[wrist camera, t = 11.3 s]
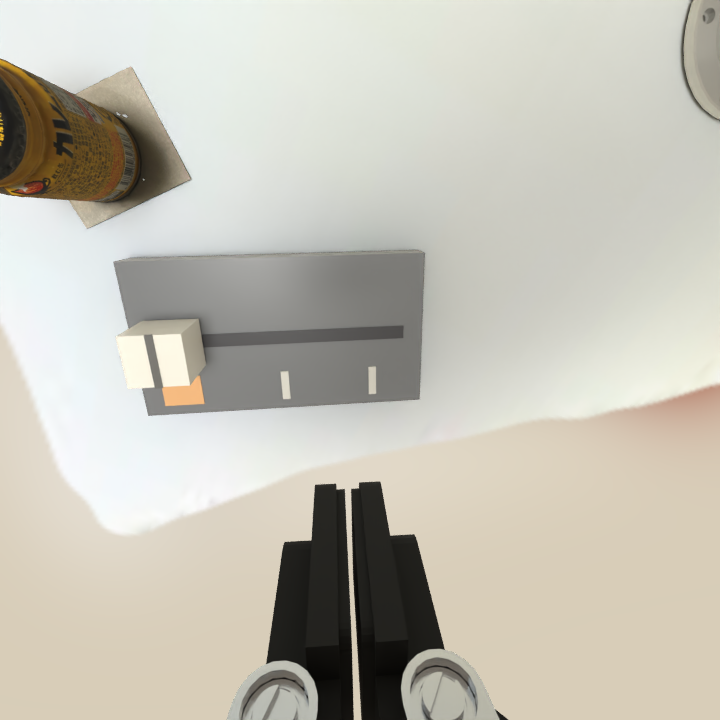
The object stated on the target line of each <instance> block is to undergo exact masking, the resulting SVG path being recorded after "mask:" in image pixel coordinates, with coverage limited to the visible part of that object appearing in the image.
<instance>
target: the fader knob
mask: <svg viewBox="0 0 720 720" xmlns="http://www.w3.org/2000/svg"><path fill="white" fill-rule="evenodd" d="M116 341H117V346H118V350H119V354H120V358H121V362H122V366H123V370H124V375H125V379H126V383H127V387H128V389H135V388H153V387H155V389H158V388H163V387H171V386H190V385H191V384H192V382H193V381H194V380H195V378H196V377H197V376H198V375H199V373H200V372H201V371H202V369H203V368H204V367H205V365H206V361H205V355H204V349H203V343H202V336H201V330H200V324H199V319H178V320H153V321H141V322H139V323H138V324H136V325H134V326H133V327H131V328H129V329H128V330H126V331H124V332H123V333H121V334H119V335H118V336H116Z"/></svg>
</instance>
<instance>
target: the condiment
mask: <svg viewBox="0 0 720 720" xmlns="http://www.w3.org/2000/svg"><path fill="white" fill-rule="evenodd" d="M116 112H118V113H120V116H118V115H117V114H116ZM122 114H126V115H127V116H128V118H125V117H123V116H122ZM142 179H145V181H143V180H142ZM188 180H190V177H189V175H188V173H187V171H186V169H185V167H184V165H183V163H182V161H181V159H180V157H179V155H178V153H177V151H176V149H175V148H174V146H173V144H172V142H171V140H170V138H169V136H168V134H167V132H166V130H165V129H164V127H163V125H162V123H161V121H160V119H159V117H158V115H157V113H156V112H155V110H154V108H153V106H152V105H151V103H150V101H149V99H148V97H147V95H146V93H145V91H144V89H143V87H142V86H141V84H140V82H139V80H138V78H137V77H136V75H135V73H134V71H133V69H132V67H129V68H127V69H125V70H122V71H120V72H118V73H116V74H115V75H113V76H111V77H109V78H106V79H104V80H102V81H100V82H99V83H97V84H95V85H92V86H90V87H88V88H87V89H85V90H82V91H81V92H79V93H77V94H73V93H70V92H68V91H66V90H64V89H62V88H60V87H58V86H57V85H55V84H52V83H50V82H48V81H46V80H44V79H42V78H40V77H38V76H36V75H34V74H32V73H30V72H28V71H26V70H24V69H21V68H19V67H17V66H15V65H13V64H11V63H9V62H8V61H6V60H3V59H0V193H1V194H6V195H12V196H19V197H35V198H48V199H61V200H69V201H70V203H71V204H72V206H73V208H74V210H75V211H76V212H77V214H78V216H79V217H80V219H81V220H82V222H83V223H84V225H85V226H86V228H87V229H88V228H90V227H92V226H94V225H96V224H98V223H100V222H103V221H105V220H107V219H109V218H111V217H113V216H115V215H117V214H120V213H122V212H124V211H126V210H128V209H130V208H132V207H134V206H136V205H138V204H141V203H142V202H144V201H146V200H148V199H150V198H153V197H155V196H157V195H159V194H161V193H163V192H166V191H168V190H170V189H172V188H173V187H175V186H177V185H179V184H182V183H184V182H186V181H188Z"/></svg>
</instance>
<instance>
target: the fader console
mask: <svg viewBox="0 0 720 720" xmlns="http://www.w3.org/2000/svg"><path fill="white" fill-rule="evenodd" d="M424 258H425V253H424V252H421V251H418V250H397V251H362V252H327V253H291V254H256V255H221V256H185V257H150V258H128V259H123V260H119V261H114V267H115V271H116V276H117V280H118V284H119V289H120V293H121V297H122V302H123V306H124V311H125V315H126V319H127V324H128V328H131V327H133V326H134V325H136V324H138V323H139V322H141V321H153V320H178V319H199V324H200V330H201V336H202V343H203V349H204V355H205V361H206V365H205V367H204V368H203V369H202V371H201V372H200V373H199V375H198V376H197V377H196V378H195V380H194V381H193V382H192V384H191V385H190V386H171V387H163V388H158V389H155V387H153V388H142V390H143V394H144V398H145V403H146V407H147V412H148V416H152V415H169V414H185V413H202V412H219V411H235V410H252V409H268V408H285V407H302V406H318V405H335V404H351V403H368V402H384V401H401V400H418V399H419V397H420V369H421V342H422V314H423V286H424Z"/></svg>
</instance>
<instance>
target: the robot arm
mask: <svg viewBox="0 0 720 720" xmlns="http://www.w3.org/2000/svg"><path fill="white" fill-rule="evenodd" d="M684 66H685V71H686V75H687V80H688V84H689V86H690V88H691V90H692V92H693V95H694V97H695V98H696V100H697V101H698V102H699V104H700V105H701V106H702V107H703V109H704V110H706V111H707V112H708V113H709V114H711V115H712V116H713V117H715V118H717V119H720V0H693V2H692V4H691V8H690V12H689V16H688V20H687V24H686V29H685V38H684ZM351 496H352V497H351V501H352V543H353V544H352V545H353V580H354V597H355V614H356V631H357V647H358V648H357V649H358V664H359V682H360V699H361V717H362V720H508V719H507V718H505V717H504V716H503V715H501V714H500V713H499V712H498V711H496V710H495V709H494V707H493V704H492V702H491V700H490V698H489V695H488V693H487V691H486V689H485V687H484V685H483V682H482V681H481V679H480V677H479V676H478V674H477V672H476V671H475V670H474V668H473V667H472V666H471V665H470V664H469V663H468V662H467V661H466V660H465V659H464V658H462V657H460V656H458V655H457V654H455V653H453V652H450V651H447V650H445V649H444V645H443V641H442V637H441V633H440V629H439V625H438V622H437V617H436V614H435V610H434V606H433V602H432V598H431V594H430V590H429V586H428V582H427V579H426V575H425V571H424V567H423V563H422V559H421V555H420V551H419V548H418V543H417V540H416V537H415V535H414V534H413V535H398V536H397V535H396V536H390V533H389V528H388V522H387V516H386V510H385V505H384V499H383V493H382V488H381V483H380V482H362V483H359V489H351ZM346 531H347V530H346V509H345V489H340V490H336V484H323V485H315V494H314V511H313V527H312V541H296V542H285V543H284V545H283V551H282V558H281V565H280V572H279V579H278V586H277V593H276V600H275V607H274V614H273V621H272V628H271V635H270V642H269V649H268V656H267V663H266V665H264V666H261V667H260V668H258V669H257V670H256V671H254V672H253V673H252V674H250V675H249V676H248V678H247V679H246V680H245V681H244V683H243V684H242V685H241V686H240V688H239V690H238V692H237V694H236V696H235V698H234V700H233V702H232V705H231V708H230V711H229V714H228V717H227V720H354V715H353V675H352V641H351V616H350V598H349V597H350V595H349V575H348V551H347V532H346Z"/></svg>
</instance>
